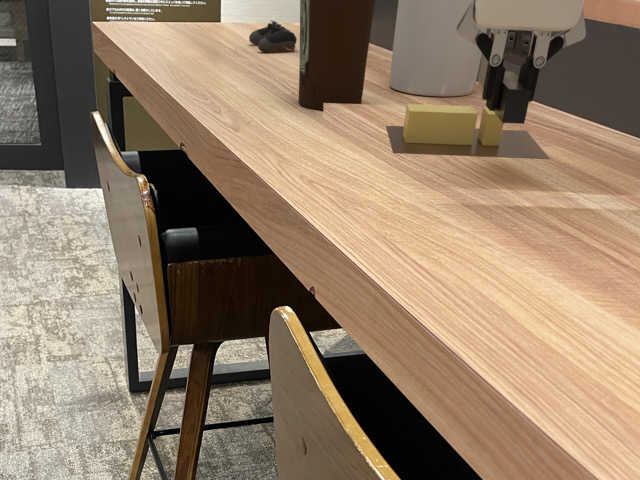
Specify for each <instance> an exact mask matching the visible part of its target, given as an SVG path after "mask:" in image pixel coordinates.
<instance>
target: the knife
mask: <svg viewBox="0 0 640 480" xmlns="http://www.w3.org/2000/svg"><path fill="white" fill-rule="evenodd" d="M487 66H488V61H487V60H486V58H485V57H484V55H483V54H482V56H481V60H480V66H479V71H478V77H477V82H478V83H479V84H480V86H481V87H482V89H483V88H484V82H485V77H486V72H487ZM530 95H531V90H530V89H529V88H528V87H527V86H526V85H525V84H524V83H523V82H522V81H521V80H520V79H519V76H518V75H517V74H516V73H515V72H514V71H509V70H508V71H507V70H505V75H504V80H503V83H502V87H501V92H500V97H499V102H498V107H497V110H495V111H494V112H495V114H496V115H497V116H498V118H499V119H500V120H501V122H502V123H504V124H519V125H520V124H522V125H523V124H525V122H526V118H527V117H526V116H527V113H528V107H529V103H530V102H529V99H530Z"/></svg>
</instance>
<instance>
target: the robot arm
mask: <svg viewBox="0 0 640 480" xmlns="http://www.w3.org/2000/svg"><path fill="white" fill-rule="evenodd" d="M584 3H585V0H471V2H470V4H469V6H468V8H467V10H466V12H465V13H464V15H463V17H462V19H461V21H460V22H459V24H458V26H457V33H458V34H459V35H460V36H462V37H463V38H465V39H467V40H468V41H470V42H472V43H474V44H475V45H477V46H478V48H479V49H480V51H481V52H482V56H483V55H484V57H485V58H486V60H487V61H488V66H487V72H486V77H485V82H484V88H483V87H482V94H481V99H482V101H486V102H485V107H487V108H488V109H489V110H490V111H495V110H497V107H498V102H499V97H500V92H501V87H502V83H503V80H504V75H505V71H506V67H505V66H504V62H505V59H504V52H505V49H506V44H507V39H508V36H509V35H508V34H509V31H527V32H529V31H530V32H531V31H532V35H531V40H530V45H529V50H528V51H529V52H528V56H526V58H525V61H524V62H523V63H522V64H521V65H520V69H519V74H518V78H519V79H520V80H521V81H522V82H523V83H524V84H525V85H526V86H527V87H528V88H529V89H530V90H531V95H530V99H529V103H532V102H533V101H534V97H535V92H536V88H537V84H538V79H539V74H540V69H541V68H543V67H544V66H545V65H546V63H547V62H548V61H549V60H551V58H552V57H554V55H556V54H557V53H558V52H559V51H561V50H562V49H563V48H567V47H569V46H571V45H574V44H576V43H579V42H581V41H583V40H585V38H586V36H587V29H586V22H585V14H584ZM476 22H477V23H478V24H479V25H481V26H482V27H485V28H487V29H490V32H489V35H488V34H487V32H486V33H485V32H483V31H481V30H479V29H478V28H476ZM552 32H557V33H555V34H552Z"/></svg>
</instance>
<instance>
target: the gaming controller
mask: <svg viewBox="0 0 640 480" xmlns="http://www.w3.org/2000/svg"><path fill="white" fill-rule="evenodd" d="M270 22H271V23H270ZM270 22H269V23H267V25H266V26H265V27H262V28H259V29H256V30H254V31H252V32H250V34H249V35H248V40H249V42H250V43H251V44H252V45H255V46H257V48H258V50H259V51H261V52H263V53H271V52H274V51H277V50H279V49H281V48H284V47H286V48H287V49H288V50H291V52H295V50H296V44H297V39H298V38H297V35H296V34H295V33H294V32H293V31H291V30H289V29H287V28H286V27H285V26H282V24H280V23H278V22H277V21H275V20H270Z"/></svg>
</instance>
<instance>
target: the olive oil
mask: <svg viewBox="0 0 640 480" xmlns="http://www.w3.org/2000/svg"><path fill="white" fill-rule="evenodd" d="M375 4H376V0H299V67H298V68H299V72H298V74H299V75H298V104H299V105H300V106H301V107H304V108H308V109H313V110H320V111H324V104H338V105H339V104H340V105H341V104H342V105H362V101H363V94H364V86H365V85H364V84H365V76H366V68H367V63H368V62H367V61H368V54H369V46H370V41H371V33H372V32H371V31H372V27H373V26H372V25H373V17H374V12H375Z"/></svg>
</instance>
